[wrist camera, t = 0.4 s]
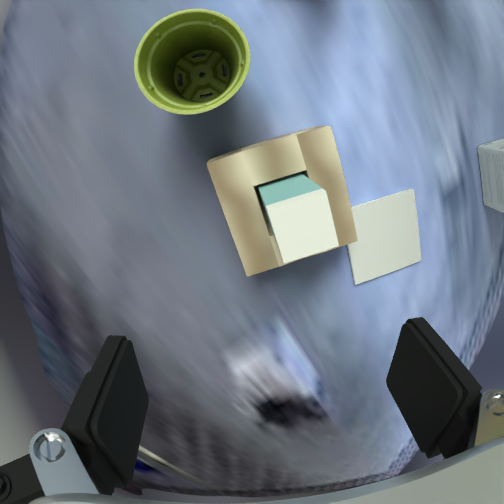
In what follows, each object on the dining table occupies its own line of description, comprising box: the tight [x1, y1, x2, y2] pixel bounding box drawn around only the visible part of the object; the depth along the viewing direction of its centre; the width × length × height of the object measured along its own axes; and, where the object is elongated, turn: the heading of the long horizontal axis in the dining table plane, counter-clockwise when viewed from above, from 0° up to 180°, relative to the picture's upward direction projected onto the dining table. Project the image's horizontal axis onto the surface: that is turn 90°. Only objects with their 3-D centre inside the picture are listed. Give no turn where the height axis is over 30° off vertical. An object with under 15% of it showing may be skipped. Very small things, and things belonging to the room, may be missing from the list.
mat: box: [347, 188, 421, 285], centre depth 37 cm, size 10×10×1 cm
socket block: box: [206, 126, 358, 277], centre depth 32 cm, size 12×12×5 cm
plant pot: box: [134, 9, 250, 115], centre depth 25 cm, size 9×9×9 cm
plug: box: [257, 172, 339, 264], centre depth 28 cm, size 4×4×12 cm
